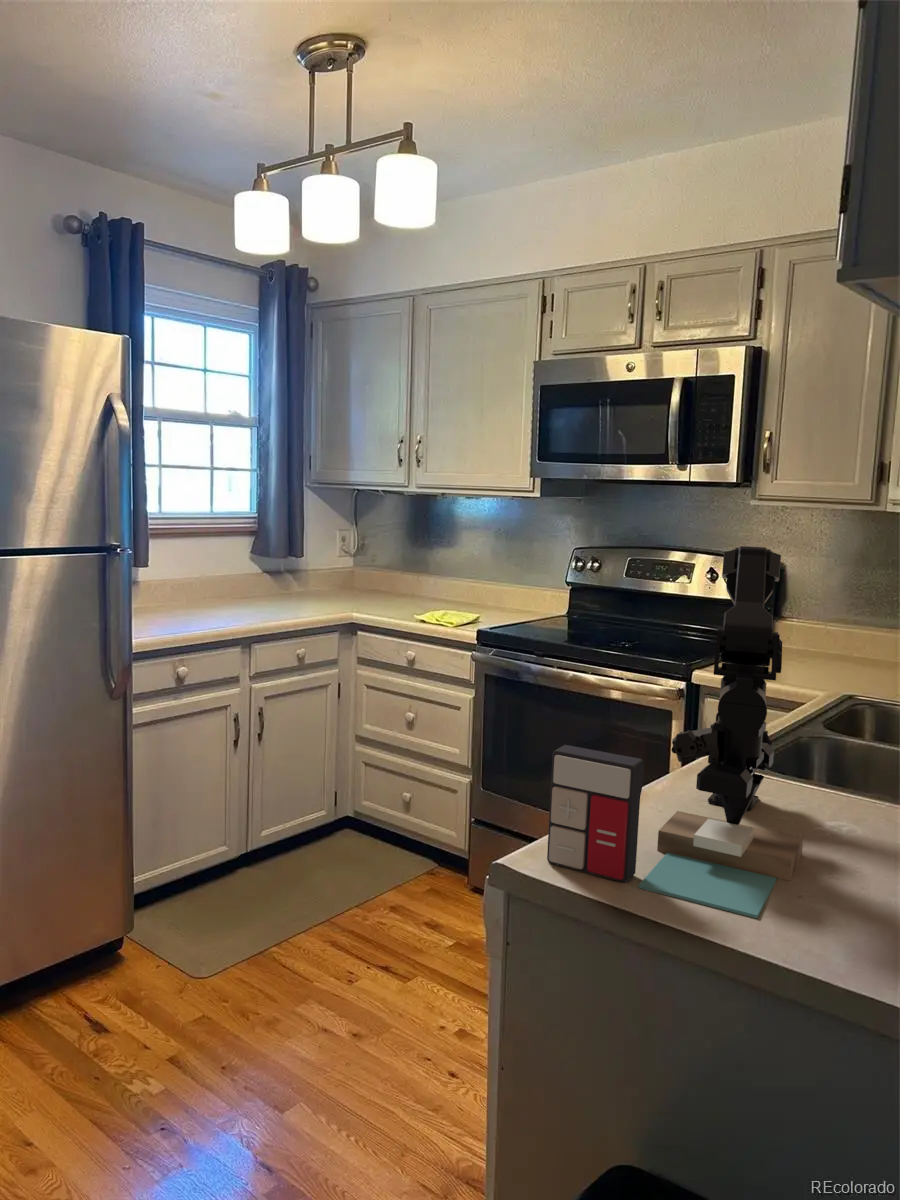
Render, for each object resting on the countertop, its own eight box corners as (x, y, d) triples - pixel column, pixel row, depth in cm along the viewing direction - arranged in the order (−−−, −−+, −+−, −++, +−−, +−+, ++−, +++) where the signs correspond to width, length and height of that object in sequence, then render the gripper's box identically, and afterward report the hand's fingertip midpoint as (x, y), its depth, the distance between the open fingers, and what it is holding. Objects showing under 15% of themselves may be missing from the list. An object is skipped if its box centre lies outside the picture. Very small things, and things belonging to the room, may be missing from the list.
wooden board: (676, 831, 128) (677, 810, 128) (801, 858, 119) (803, 837, 119) (657, 851, 120) (658, 830, 120) (789, 883, 112) (791, 860, 111)
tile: (707, 829, 121) (708, 818, 121) (752, 839, 118) (753, 828, 118) (693, 845, 115) (694, 834, 115) (740, 856, 112) (741, 845, 112)
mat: (667, 855, 119) (667, 852, 119) (776, 881, 112) (776, 878, 112) (638, 887, 109) (638, 884, 109) (757, 918, 102) (757, 915, 102)
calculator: (544, 864, 115) (549, 751, 113) (557, 853, 118) (563, 743, 117) (625, 886, 109) (633, 767, 107) (637, 873, 113) (644, 759, 111)
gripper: (698, 694, 130) (691, 797, 132) (660, 719, 114) (652, 836, 116) (778, 705, 125) (769, 812, 126) (750, 734, 109) (740, 856, 110)
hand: (732, 828), depth 120 cm, fingers closed
